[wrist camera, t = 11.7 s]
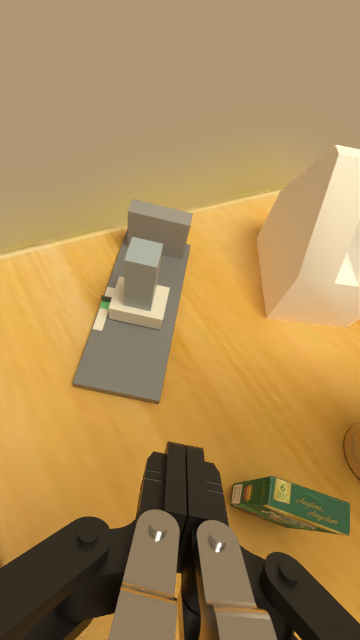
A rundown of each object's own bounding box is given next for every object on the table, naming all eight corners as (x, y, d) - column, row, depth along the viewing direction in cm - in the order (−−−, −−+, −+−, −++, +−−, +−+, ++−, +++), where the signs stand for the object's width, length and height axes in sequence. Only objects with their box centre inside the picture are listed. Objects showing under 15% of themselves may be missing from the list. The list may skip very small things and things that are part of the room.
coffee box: (226, 506, 39) (267, 506, 28) (231, 481, 41) (272, 472, 30) (287, 529, 39) (353, 539, 28) (290, 504, 40) (354, 503, 29)
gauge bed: (188, 250, 60) (199, 210, 52) (158, 404, 44) (166, 381, 36) (127, 236, 59) (128, 193, 51) (74, 386, 44) (63, 359, 36)
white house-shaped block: (256, 239, 65) (321, 109, 43) (325, 249, 67) (421, 129, 45) (266, 318, 55) (357, 201, 34) (347, 328, 57) (482, 222, 35)
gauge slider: (175, 262, 56) (188, 202, 44) (160, 329, 48) (171, 277, 37) (119, 249, 55) (119, 185, 44) (96, 315, 48) (88, 258, 37)
